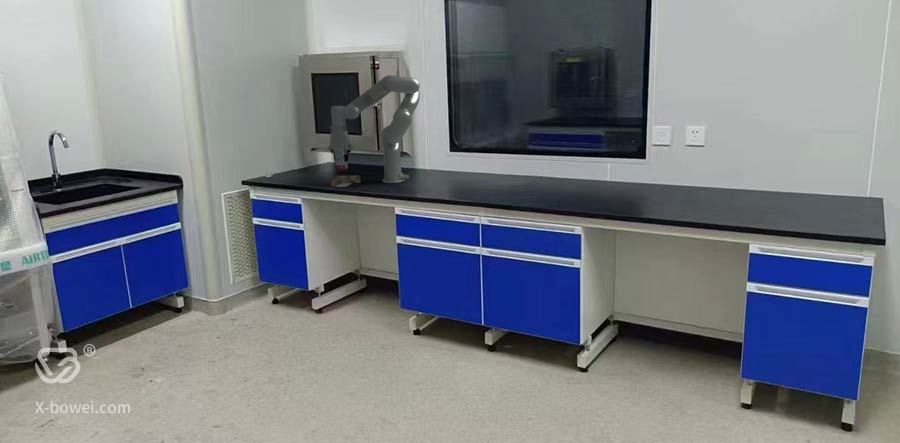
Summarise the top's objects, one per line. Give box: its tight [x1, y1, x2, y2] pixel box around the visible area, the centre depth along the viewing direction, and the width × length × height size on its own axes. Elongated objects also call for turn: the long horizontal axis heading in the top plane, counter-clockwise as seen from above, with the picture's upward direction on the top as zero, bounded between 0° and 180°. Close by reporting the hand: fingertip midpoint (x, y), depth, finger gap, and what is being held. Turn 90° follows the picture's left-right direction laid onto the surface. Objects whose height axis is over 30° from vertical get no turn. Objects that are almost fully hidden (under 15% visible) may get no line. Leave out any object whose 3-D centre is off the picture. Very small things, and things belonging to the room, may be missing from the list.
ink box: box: [334, 149, 349, 171], centre depth 370 cm, size 9×5×12 cm, turn 174°
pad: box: [334, 183, 353, 188], centre depth 374 cm, size 6×10×1 cm, turn 169°
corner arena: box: [330, 175, 361, 187], centre depth 375 cm, size 13×12×4 cm
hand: (341, 161), depth 371 cm, fingers closed on ink box, 5 cm apart
